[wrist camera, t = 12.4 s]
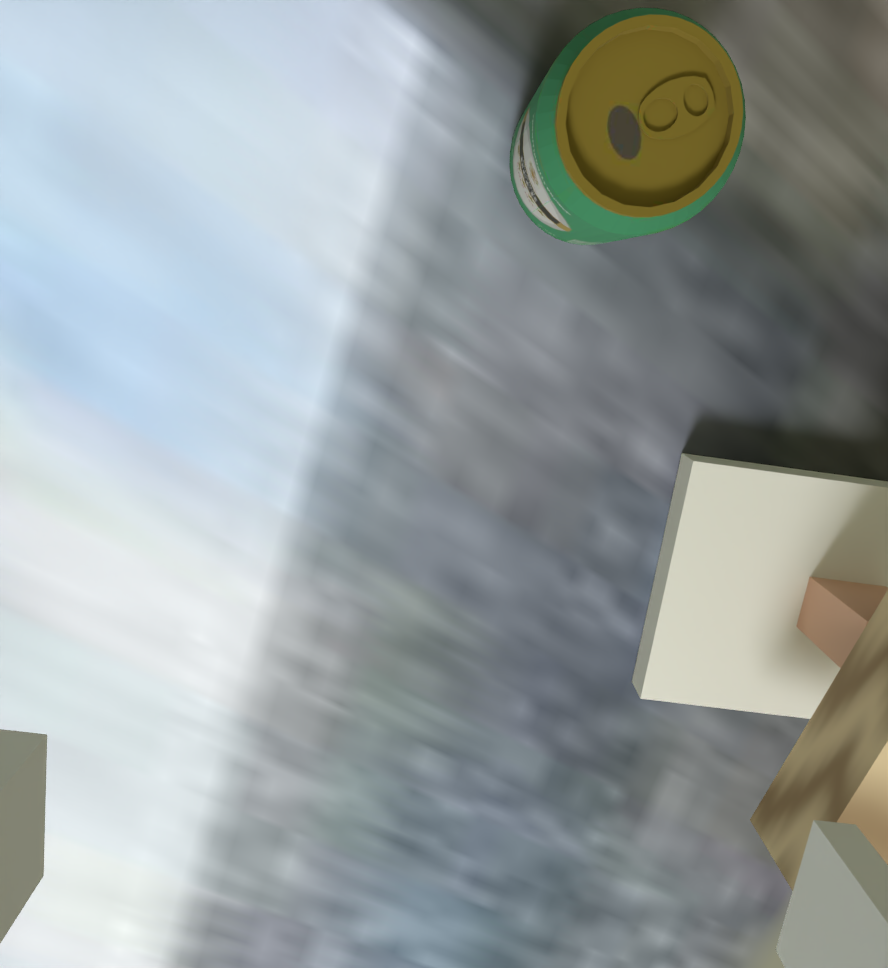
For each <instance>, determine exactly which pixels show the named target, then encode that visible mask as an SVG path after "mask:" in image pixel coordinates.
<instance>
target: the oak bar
mask: <svg viewBox="0 0 888 968" xmlns="http://www.w3.org/2000/svg"><path fill="white" fill-rule="evenodd" d="M813 820H819V821H828V822H837V823H846V824H855V825H857V827H858V828H859V829H860V831H861V832H862V833H863V834H864V836H865V837H866V838H867V839H868V841H869V842H870V843H871V845H872V846H873V847H874V848H875V850H876V851H877V852H878V853H879V855H880V856H881V857H882V858H883V860H884V861H885V862H886V864H887V865H888V590H887V592H886V594H885V595H884V597H883V599H882V600H881V602H880V604H879V605H878V607H877V609H876V610H875V612H874V614H873V615H872V617H871V619H870V620H869V622H868V624H867V625H866V627H865V629H864V630H863V632H862V634H861V635H860V637H859V639H858V640H857V642H856V644H855V645H854V647H853V649H852V650H851V652H850V654H849V655H848V657H847V659H846V660H845V662H844V664H843V665H842V667H841V669H840V670H839V672H838V674H837V675H836V677H835V679H834V680H833V682H832V684H831V685H830V687H829V689H828V690H827V692H826V694H825V695H824V697H823V699H822V700H821V702H820V704H819V705H818V707H817V709H816V710H815V712H814V714H813V715H812V717H811V719H810V720H809V722H808V724H807V726H806V727H805V729H804V731H803V732H802V734H801V736H800V737H799V739H798V741H797V742H796V744H795V746H794V747H793V749H792V751H791V752H790V754H789V756H788V757H787V759H786V761H785V762H784V764H783V766H782V767H781V769H780V771H779V772H778V774H777V776H776V777H775V779H774V781H773V782H772V784H771V786H770V787H769V789H768V791H767V792H766V794H765V796H764V797H763V799H762V801H761V802H760V804H759V806H758V807H757V809H756V811H755V812H754V814H753V816H752V817H751V819H750V821H751V822H752V824H753V826H754V827H755V829H756V831H757V832H758V834H759V836H760V837H761V839H762V841H763V842H764V844H765V846H766V847H767V849H768V851H769V852H770V854H771V856H772V857H773V859H774V861H775V862H776V864H777V866H778V867H779V869H780V871H781V872H782V874H783V876H784V877H785V879H786V881H787V882H788V884H789V886H790V887H791V889H792V891H793V889H794V885H795V882H796V879H797V875H798V872H799V868H800V865H801V861H802V858H803V854H804V851H805V848H806V844H807V841H808V837H809V834H810V830H811V827H812V823H813Z"/></svg>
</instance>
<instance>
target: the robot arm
mask: <svg viewBox="0 0 888 968" xmlns="http://www.w3.org/2000/svg"><path fill="white" fill-rule="evenodd" d="M46 757H47V735H46V734H37V733H28V732H19V731H10V730H1V729H0V943H1V941H2V940H3V938H4V937H5V935H6V934H7V932H8V930H9V929H10V927H11V926H12V924H13V923H14V921H15V919H16V918H17V916H18V915H19V913H20V912H21V910H22V908H23V907H24V905H25V904H26V902H27V901H28V899H29V897H30V896H31V894H32V893H33V891H34V890H35V888H36V886H37V885H38V883H39V882H40V880H41V879H42V877H43V873H44V834H45V796H46ZM776 951H777V953H778V955H779V957H780V959H781V961H782V963H783V965H784V967H785V968H888V865H887V864H886V862H885V861H884V860H883V858H882V857H881V856H880V855H879V853H878V852H877V851H876V850H875V848H874V847H873V846H872V845H871V843H870V842H869V841H868V839H867V838H866V837H865V836H864V834H863V833H862V832H861V831H860V829H859V828H858V827H857V825H855V824H846V823H837V822H828V821H819V820H813V823H812V827H811V830H810V834H809V837H808V841H807V844H806V848H805V851H804V854H803V858H802V861H801V865H800V868H799V872H798V875H797V879H796V882H795V885H794V889H793V892H792V896H791V899H790V903H789V906H788V909H787V913H786V916H785V920H784V923H783V927H782V930H781V934H780V937H779V940H778V944H777V947H776Z"/></svg>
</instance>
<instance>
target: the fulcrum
mask: <svg viewBox="0 0 888 968" xmlns="http://www.w3.org/2000/svg"><path fill="white" fill-rule="evenodd" d="M887 590H888V481H881V480H874V479H866V478H859V477H852V476H845V475H837V474H830V473H823V472H816V471H808V470H801V469H794V468H786V467H779V466H772V465H765V464H757V463H750V462H743V461H735V460H728V459H721V458H714V457H706V456H699V455H692V454H684V453H682V454H681V459H680V463H679V468H678V473H677V477H676V482H675V486H674V491H673V496H672V500H671V505H670V509H669V514H668V518H667V523H666V528H665V532H664V537H663V541H662V546H661V550H660V555H659V560H658V564H657V569H656V573H655V578H654V582H653V587H652V592H651V596H650V601H649V605H648V610H647V615H646V619H645V624H644V628H643V633H642V637H641V642H640V647H639V651H638V656H637V660H636V665H635V669H634V674H633V679H632V683H633V685H634V687H635V689H636V691H637V693H638V695H639V697H640V699H648V700H657V701H665V702H674V703H682V704H690V705H699V706H707V707H716V708H724V709H732V710H741V711H749V712H757V713H766V714H774V715H783V716H791V717H799V718H808V719H811V717H812V715H813V714H814V712H815V710H816V709H817V707H818V705H819V704H820V702H821V700H822V699H823V697H824V695H825V694H826V692H827V690H828V689H829V687H830V685H831V684H832V682H833V680H834V679H835V677H836V675H837V674H838V672H839V670H840V669H841V667H842V665H843V664H844V662H845V660H846V659H847V657H848V655H849V654H850V652H851V650H852V649H853V647H854V645H855V644H856V642H857V640H858V639H859V637H860V635H861V634H862V632H863V630H864V629H865V627H866V625H867V624H868V622H869V620H870V619H871V617H872V615H873V614H874V612H875V610H876V609H877V607H878V605H879V604H880V602H881V600H882V599H883V597H884V595H885V594H886V592H887Z"/></svg>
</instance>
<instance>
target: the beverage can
mask: <svg viewBox="0 0 888 968" xmlns="http://www.w3.org/2000/svg"><path fill="white" fill-rule="evenodd" d="M745 119H746V117H745V99H744V94H743V89H742V84H741V81H740V78H739V76H738V73H737V70H736V67H735V65H734V63H733V62H732V60H731V58H730V56H729V55H728V53H727V51H726V50H725V49H724V47H723V46H722V45H721V44H720V42H719V41H718V40H717V39H716V37H714V36H713V35H712V34H711V33H710V32H709V31H708V30H707V29H705V28H704V27H703V26H702V25H700V24H698V23H697V22H695V21H693V20H692V19H690V18H688V17H686V16H683V15H681V14H678V13H676V12H673V11H668V10H663V9H658V8H636V9H629V10H623V11H620V12H617V13H614V14H611V15H608V16H605V17H603V18H602V19H600V20H598V21H596V22H594V23H592V24H590V25H589V26H588V27H586V28H585V29H584V30H582V31H581V32H580V33H578V34H577V35H576V36H575V37H574V38H573V39H572V40H571V41H570V42H569V43H568V44H567V45H566V46H565V47H564V49H563V50H562V51H561V53H560V54H559V56H558V57H557V58H556V60H555V61H554V63H553V64H552V66H551V68H550V69H549V71H548V73H547V74H546V76H545V78H544V79H543V81H542V83H541V84H540V86H539V88H538V89H537V91H536V93H535V94H534V96H533V98H532V99H531V101H530V103H529V104H528V106H527V108H526V109H525V111H524V113H523V115H522V117H521V119H520V121H519V123H518V125H517V127H516V130H515V133H514V136H513V139H512V144H511V150H510V174H511V181H512V184H513V188H514V192H515V194H516V196H517V199H518V201H519V203H520V205H521V207H522V208H523V210H524V211H525V213H526V214H527V216H528V217H529V218H530V219H531V220H532V221H533V222H534V223H535V224H536V225H537V226H538V227H539V228H541V229H542V230H543V231H544V232H546V233H547V234H549V235H551V236H553V237H555V238H557V239H559V240H562V241H565V242H568V243H573V244H579V245H594V244H601V243H607V242H612V241H617V240H623V239H628V238H633V237H638V236H643V235H648V234H654V233H658V232H661V231H664V230H667V229H671V228H673V227H675V226H677V225H679V224H681V223H683V222H685V221H687V220H689V219H690V218H692V217H693V216H694V215H696V214H697V213H699V212H700V211H701V210H702V209H703V208H704V207H706V206H707V205H708V204H709V203H710V202H711V201H712V200H713V199H714V198H715V196H716V195H717V194H718V192H719V191H720V190H721V189H722V187H723V186H724V185H725V183H726V181H727V179H728V178H729V176H730V174H731V172H732V171H733V169H734V166H735V164H736V161H737V159H738V156H739V154H740V150H741V146H742V141H743V137H744V129H745Z"/></svg>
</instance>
